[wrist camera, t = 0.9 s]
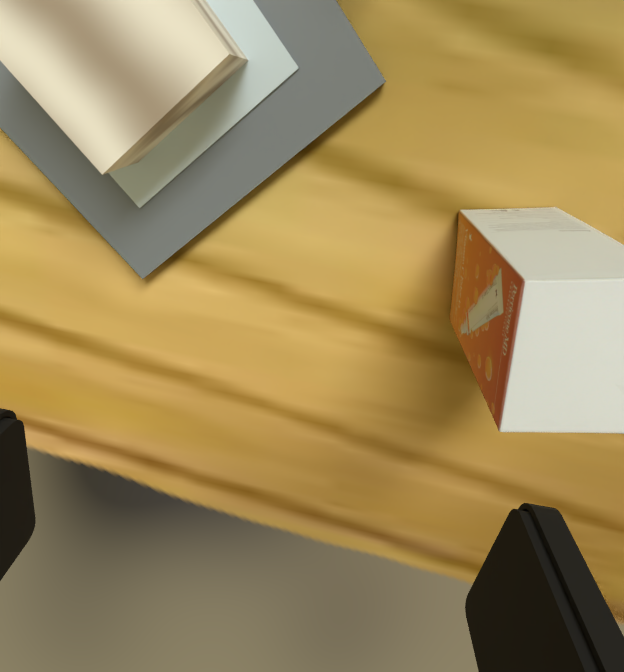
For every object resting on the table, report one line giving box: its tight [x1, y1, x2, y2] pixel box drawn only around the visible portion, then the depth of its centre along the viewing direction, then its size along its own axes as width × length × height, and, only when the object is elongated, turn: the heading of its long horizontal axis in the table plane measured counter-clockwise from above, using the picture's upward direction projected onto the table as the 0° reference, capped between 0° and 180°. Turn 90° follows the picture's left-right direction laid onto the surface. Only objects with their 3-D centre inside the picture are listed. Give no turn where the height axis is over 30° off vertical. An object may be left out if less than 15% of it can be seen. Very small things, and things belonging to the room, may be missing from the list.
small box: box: [450, 207, 624, 434], centre depth 27 cm, size 8×6×13 cm
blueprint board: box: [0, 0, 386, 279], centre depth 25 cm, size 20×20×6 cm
